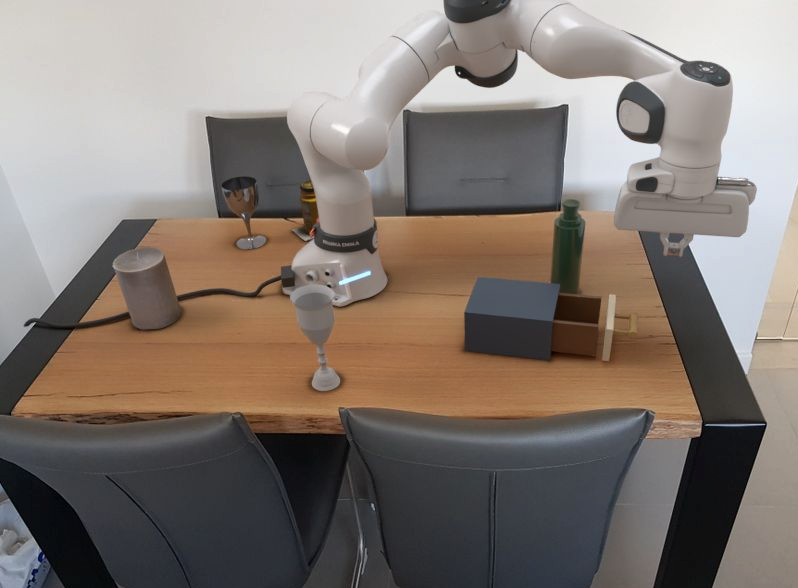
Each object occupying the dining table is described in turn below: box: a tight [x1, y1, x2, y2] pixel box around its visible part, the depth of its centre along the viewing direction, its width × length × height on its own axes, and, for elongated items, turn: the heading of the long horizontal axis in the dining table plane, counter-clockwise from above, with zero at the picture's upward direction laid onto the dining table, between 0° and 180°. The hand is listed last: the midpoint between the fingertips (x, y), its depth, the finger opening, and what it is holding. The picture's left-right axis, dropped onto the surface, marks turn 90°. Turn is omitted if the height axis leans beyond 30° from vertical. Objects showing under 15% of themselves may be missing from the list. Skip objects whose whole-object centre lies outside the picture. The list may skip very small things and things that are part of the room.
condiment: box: [291, 180, 319, 242], centre depth 171 cm, size 7×8×12 cm
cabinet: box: [463, 276, 560, 361], centre depth 132 cm, size 16×13×9 cm
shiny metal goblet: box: [221, 175, 267, 250], centre depth 167 cm, size 8×8×15 cm
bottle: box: [549, 198, 586, 295], centre depth 140 cm, size 6×6×20 cm
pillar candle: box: [112, 246, 182, 331], centre depth 141 cm, size 10×10×15 cm
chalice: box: [289, 285, 341, 392], centre depth 121 cm, size 7×7×18 cm
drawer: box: [551, 293, 639, 362], centre depth 129 cm, size 19×11×7 cm, turn 75°
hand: (672, 254), depth 118 cm, fingers closed
